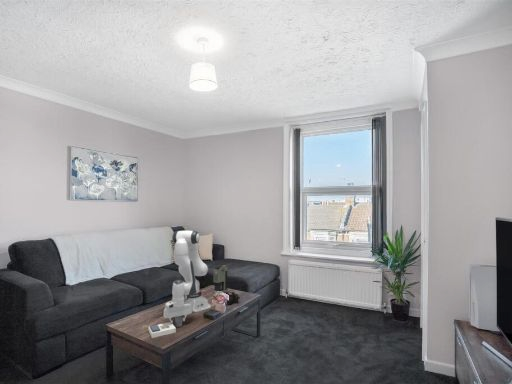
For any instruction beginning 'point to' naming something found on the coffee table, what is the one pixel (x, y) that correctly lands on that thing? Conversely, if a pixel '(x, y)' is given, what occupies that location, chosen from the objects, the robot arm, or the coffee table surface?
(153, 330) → the switch plate
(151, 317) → the coffee table surface
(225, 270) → the device
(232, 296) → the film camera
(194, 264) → the robot arm
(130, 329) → the coffee table surface
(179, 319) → the rocker switch
